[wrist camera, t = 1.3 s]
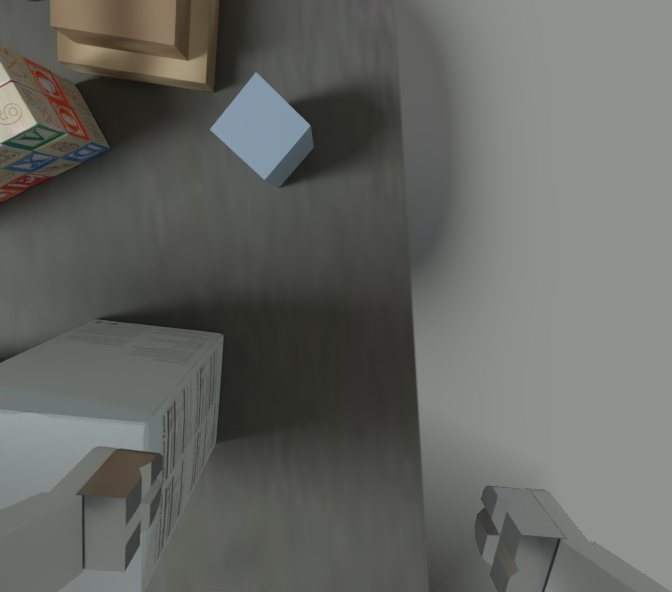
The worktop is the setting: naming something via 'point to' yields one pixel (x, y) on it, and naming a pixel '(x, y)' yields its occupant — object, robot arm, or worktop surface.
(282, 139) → the pillar
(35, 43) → the worktop surface
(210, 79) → the plinth
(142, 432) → the supplement box
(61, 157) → the stack of blocks
